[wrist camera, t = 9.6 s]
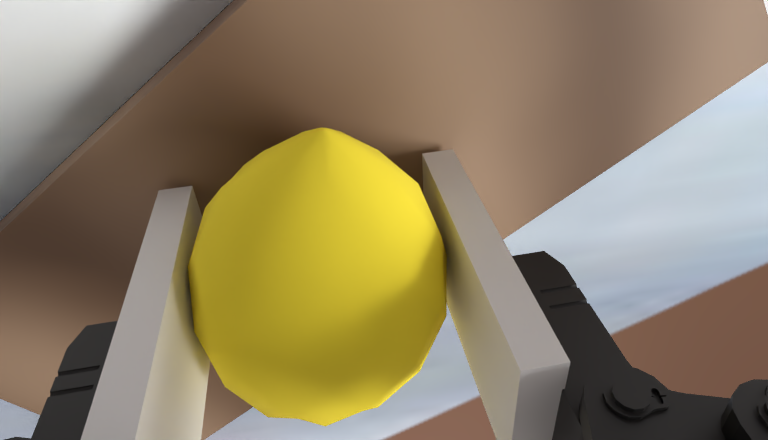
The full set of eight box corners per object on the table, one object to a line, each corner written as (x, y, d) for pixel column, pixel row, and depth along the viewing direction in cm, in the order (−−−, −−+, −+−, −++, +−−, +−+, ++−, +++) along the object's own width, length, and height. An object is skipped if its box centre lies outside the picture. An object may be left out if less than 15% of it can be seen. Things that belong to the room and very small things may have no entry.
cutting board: (169, 434, 20) (165, 466, 19) (-98, 314, 15) (-124, 348, 14) (744, 38, 14) (778, 54, 13) (615, -361, 9) (654, -382, 8)
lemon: (190, 88, 12) (136, 193, 7) (429, 90, 13) (515, 185, 8) (217, 339, 15) (191, 521, 11) (407, 326, 16) (460, 489, 12)
